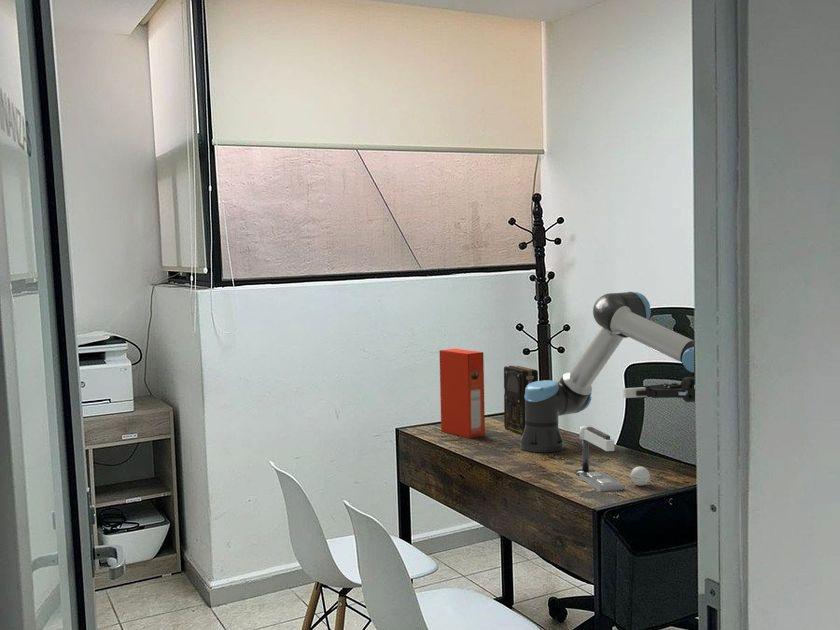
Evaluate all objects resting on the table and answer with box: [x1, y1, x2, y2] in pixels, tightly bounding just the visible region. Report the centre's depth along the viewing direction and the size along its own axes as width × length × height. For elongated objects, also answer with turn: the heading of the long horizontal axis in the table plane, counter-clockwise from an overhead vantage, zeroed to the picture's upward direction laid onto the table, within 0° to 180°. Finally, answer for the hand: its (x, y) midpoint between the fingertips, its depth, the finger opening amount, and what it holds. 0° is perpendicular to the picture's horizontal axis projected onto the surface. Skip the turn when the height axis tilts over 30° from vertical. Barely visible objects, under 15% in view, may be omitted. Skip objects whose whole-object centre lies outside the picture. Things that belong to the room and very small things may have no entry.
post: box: [575, 439, 596, 477], centre depth 269 cm, size 6×6×11 cm
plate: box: [578, 470, 624, 492], centre depth 258 cm, size 16×7×2 cm, turn 11°
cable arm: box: [579, 425, 615, 452], centre depth 260 cm, size 21×4×4 cm, turn 11°
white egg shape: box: [629, 466, 651, 487], centre depth 254 cm, size 8×6×6 cm
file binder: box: [439, 348, 486, 439], centre depth 332 cm, size 8×17×32 cm, turn 36°
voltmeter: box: [503, 365, 539, 436], centre depth 335 cm, size 16×9×25 cm, turn 23°
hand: (624, 393), depth 257 cm, fingers closed
